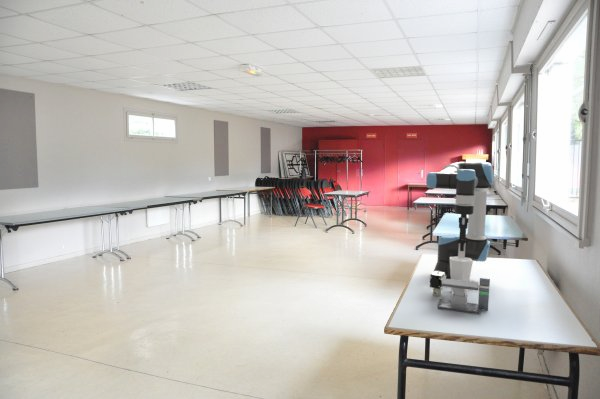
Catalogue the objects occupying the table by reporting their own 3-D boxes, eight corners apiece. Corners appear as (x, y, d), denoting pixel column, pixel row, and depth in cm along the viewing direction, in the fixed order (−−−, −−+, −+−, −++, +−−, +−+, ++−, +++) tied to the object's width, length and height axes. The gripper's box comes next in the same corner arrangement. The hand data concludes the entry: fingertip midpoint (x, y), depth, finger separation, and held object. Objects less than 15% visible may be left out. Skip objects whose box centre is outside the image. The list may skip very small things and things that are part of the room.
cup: (472, 297, 204) (474, 262, 203) (449, 295, 206) (451, 260, 205) (467, 290, 215) (469, 257, 214) (446, 288, 217) (448, 255, 216)
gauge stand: (487, 307, 190) (489, 276, 189) (488, 315, 180) (490, 283, 179) (439, 301, 198) (440, 271, 196) (437, 308, 188) (439, 277, 186)
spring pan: (488, 297, 189) (488, 283, 188) (488, 303, 181) (489, 289, 180) (442, 291, 196) (442, 278, 195) (440, 297, 188) (441, 283, 187)
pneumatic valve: (428, 297, 202) (429, 272, 201) (435, 291, 212) (436, 267, 211) (440, 299, 200) (441, 274, 198) (446, 293, 209) (447, 269, 208)
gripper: (455, 202, 196) (453, 250, 198) (454, 206, 177) (451, 260, 179) (473, 203, 194) (470, 252, 196) (473, 207, 174) (470, 262, 176)
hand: (461, 256), depth 187 cm, fingers open, 8 cm apart
